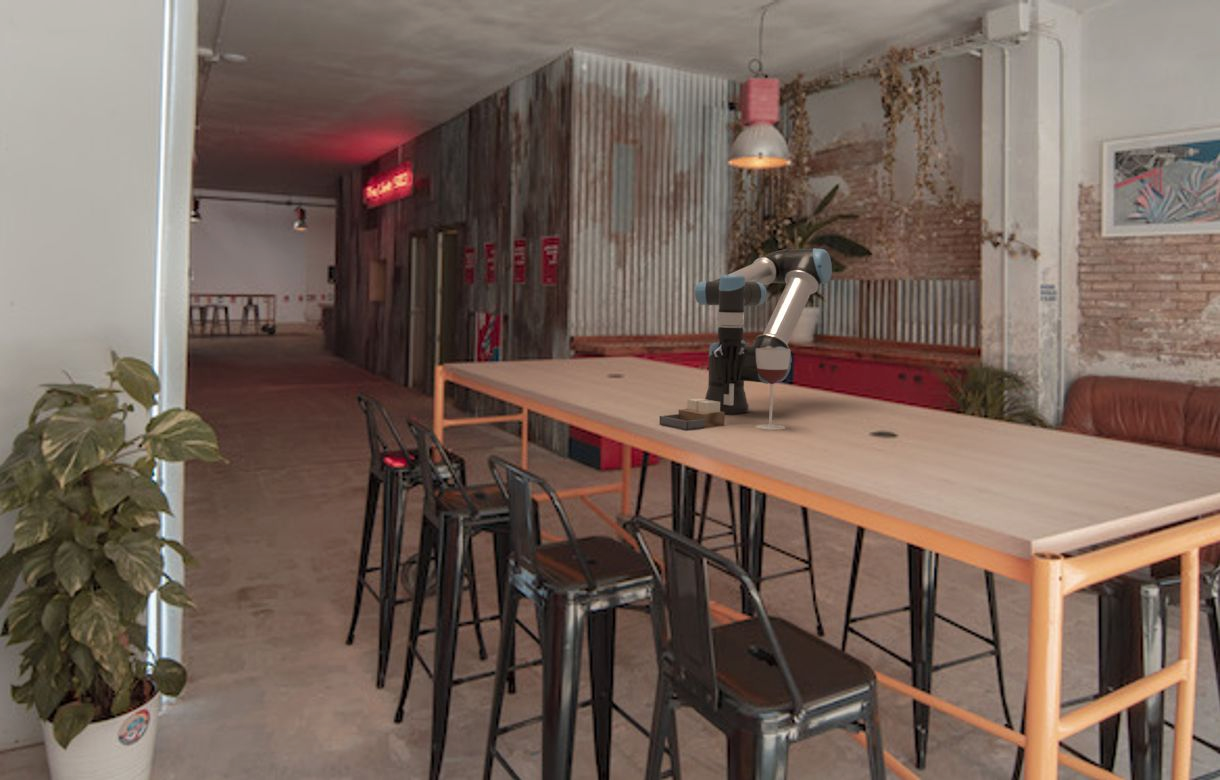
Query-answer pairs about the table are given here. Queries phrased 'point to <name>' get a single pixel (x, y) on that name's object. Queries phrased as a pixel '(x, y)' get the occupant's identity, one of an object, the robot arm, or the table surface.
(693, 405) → the beige block
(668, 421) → the tray
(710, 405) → the beige block
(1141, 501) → the table surface
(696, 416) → the board
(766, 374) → the wineglass
